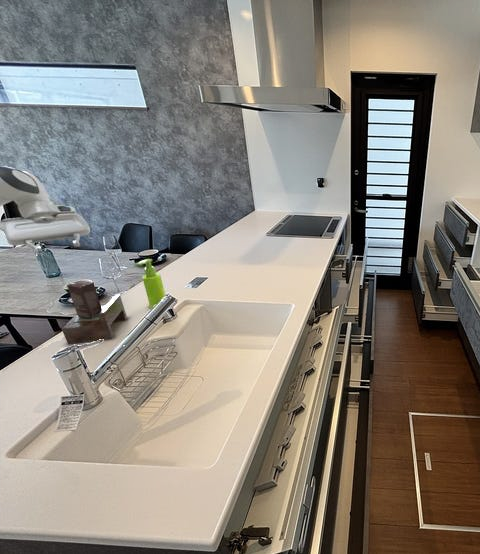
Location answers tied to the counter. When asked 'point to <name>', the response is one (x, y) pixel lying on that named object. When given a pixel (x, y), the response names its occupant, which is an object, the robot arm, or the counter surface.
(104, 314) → the dark square tray
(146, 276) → the soap dispenser
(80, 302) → the box
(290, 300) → the counter surface
